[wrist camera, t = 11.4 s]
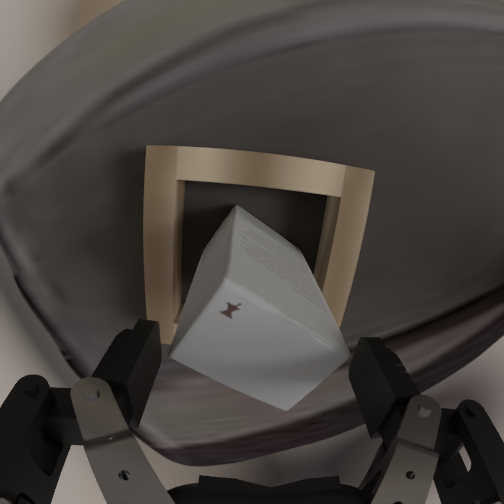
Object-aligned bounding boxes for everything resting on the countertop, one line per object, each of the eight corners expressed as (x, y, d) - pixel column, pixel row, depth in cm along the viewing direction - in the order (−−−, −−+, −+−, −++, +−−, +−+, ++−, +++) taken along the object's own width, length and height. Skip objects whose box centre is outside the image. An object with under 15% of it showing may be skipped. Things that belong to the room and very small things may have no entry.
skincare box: (202, 249, 21) (161, 355, 10) (235, 202, 20) (223, 271, 9) (268, 292, 23) (286, 415, 11) (303, 250, 22) (357, 354, 10)
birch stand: (358, 167, 19) (375, 171, 17) (322, 334, 24) (330, 355, 21) (160, 145, 19) (146, 145, 16) (158, 320, 23) (149, 341, 21)
